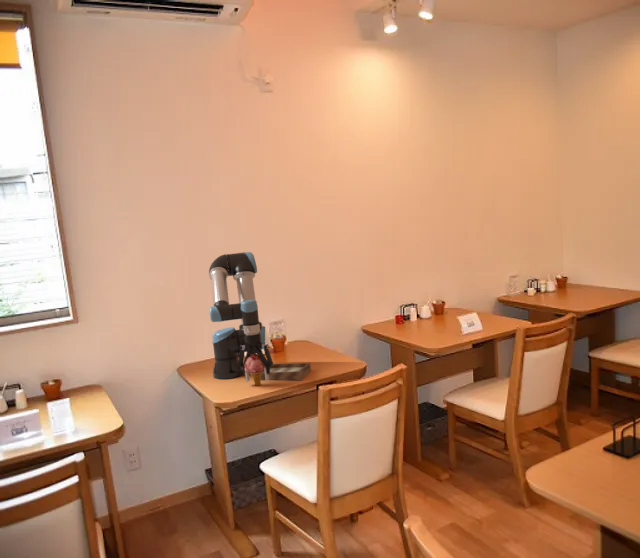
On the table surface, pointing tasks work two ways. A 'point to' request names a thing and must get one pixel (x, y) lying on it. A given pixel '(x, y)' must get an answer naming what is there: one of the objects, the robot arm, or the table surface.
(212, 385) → the table surface
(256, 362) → the ice cream
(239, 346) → the robot arm
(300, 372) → the tray
